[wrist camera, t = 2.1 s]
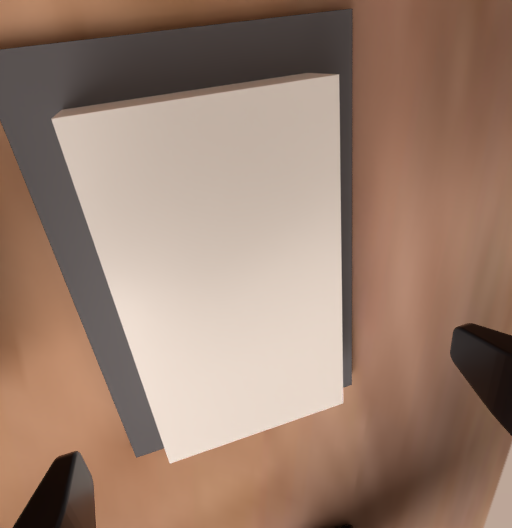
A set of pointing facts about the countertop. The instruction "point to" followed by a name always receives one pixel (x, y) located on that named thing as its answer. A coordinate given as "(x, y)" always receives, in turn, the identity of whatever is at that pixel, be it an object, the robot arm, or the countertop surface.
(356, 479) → the countertop surface
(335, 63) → the mat
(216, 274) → the white rectangular block
